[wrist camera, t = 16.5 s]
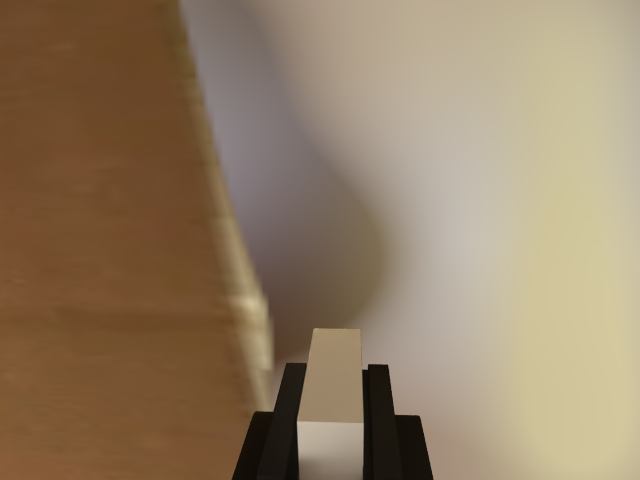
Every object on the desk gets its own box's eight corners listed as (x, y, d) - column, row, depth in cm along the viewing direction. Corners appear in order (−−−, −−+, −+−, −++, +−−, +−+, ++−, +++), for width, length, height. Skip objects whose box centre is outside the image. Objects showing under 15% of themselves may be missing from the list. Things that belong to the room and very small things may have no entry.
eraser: (362, 327, 12) (364, 424, 8) (361, 480, 13) (363, 619, 9) (313, 326, 12) (294, 422, 8) (318, 478, 13) (303, 615, 10)
